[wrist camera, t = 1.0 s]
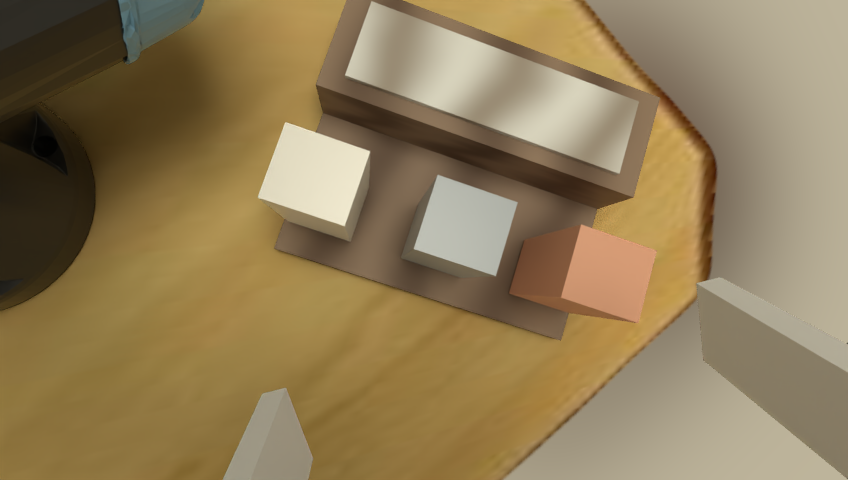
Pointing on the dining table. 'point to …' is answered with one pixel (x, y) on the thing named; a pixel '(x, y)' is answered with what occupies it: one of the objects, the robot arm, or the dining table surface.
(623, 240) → the pink tall block
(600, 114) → the key console
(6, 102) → the robot arm
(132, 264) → the dining table surface
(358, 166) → the ivory key
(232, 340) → the dining table surface
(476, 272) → the slate key
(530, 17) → the dining table surface
